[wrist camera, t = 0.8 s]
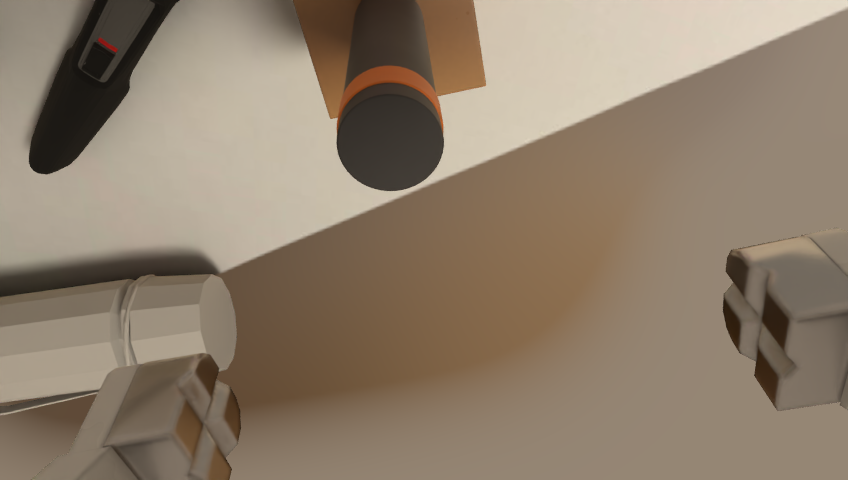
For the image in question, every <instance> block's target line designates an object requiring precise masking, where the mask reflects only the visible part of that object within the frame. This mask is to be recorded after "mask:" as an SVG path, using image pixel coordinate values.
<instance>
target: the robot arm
mask: <svg viewBox="0 0 848 480" xmlns="http://www.w3.org/2000/svg"><path fill="white" fill-rule="evenodd" d="M726 272H727V274H728V275H729V277H730V278H731V279H732V281H733V282H734V283H733V284H732V285H731V286H730V287H729V288H728V290H727V291H726V292H725V293H724V301H723V313H724V317H725V322H726V327H727V330H728V332H729V334H730V337H731V339H732V341H733V343H734V345H735V346H736V348H737V349H738V351H739V353H740V354H742V355H744V356H746V357H748V358H750V359H752V360H754V361H756V367H755V375H754V376H755V377H756V379H757V381H758V382H759V383H760V385H761V387H762V388H763V390H764V391H765V393H766V394H767V396H768V397H769V399H770V400H771V402H772V403H773V405H774V406H775V408H776V409H777V411H782V410H789V409H795V408H803V407H809V406H816V405H822V404H830V403H837V402H840V405H841V406H842V407H844V408H845V409H847V410H848V232H847V231H845V230H842V229H839V228H833V229H828V230H824V231H819V232H815V233H810V234H805V235H801V236H800V237H793V238H788V239H783V240H778V241H774V242H768V243H764V244H758V245H753V246H748V247H744V248H738V249H733V250H731V251H730V253H729V255H728V257H727V264H726ZM218 372H219V367H218V365H217V364H216V362H215V361H214V359H213V358H212V356H211V355H210V354H206V353H198V354H192V355H186V356H180V357H174V358H168V359H162V360H156V361H150V362H145V363H144V364H137V365H131V366H125V367H119V368H115V369H114V370H112V371H111V372H110V373H108V374H107V376H106V378H105V380H104V382H103V384H102V386H101V388H100V390H99V392H98V394H97V396H96V398H95V400H94V402H93V404H92V406H91V408H90V410H89V412H88V414H87V416H86V418H85V420H84V422H83V424H82V426H81V428H80V430H79V432H78V434H77V436H76V439H75V440H74V442H73V444H72V446H71V449H70V450H69V452H68V454H66V455H60V456H57V457H56V458H55V459H54V460H53V461H52V462H51V463H50V464H49V465H47V466H46V467H45V468H44V469H43V470H42V471H41V472H39V473H38V474H37V475H36V476H35V477H34V478H33V479H32V480H229V479H230V475H231V470H232V469H231V467H230V465H229V463H228V462H227V460H226V457H227V456H228V455H229V453H230V452H231V451H232V450H233V449H234V448H235V447H236V446H237V444H238V440H239V435H240V430H241V421H240V409H239V405H238V402H237V399H236V397H235V395H234V393H233V391H232V389H231V387H229V386H227V385H225V384H223V383H222V382H219V381H218V380H216V379H217V375H218Z"/></svg>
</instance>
